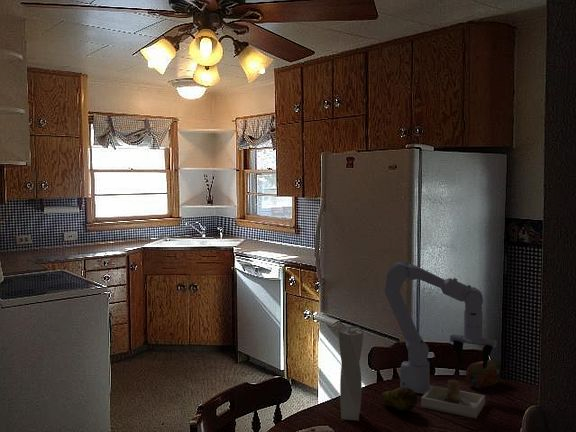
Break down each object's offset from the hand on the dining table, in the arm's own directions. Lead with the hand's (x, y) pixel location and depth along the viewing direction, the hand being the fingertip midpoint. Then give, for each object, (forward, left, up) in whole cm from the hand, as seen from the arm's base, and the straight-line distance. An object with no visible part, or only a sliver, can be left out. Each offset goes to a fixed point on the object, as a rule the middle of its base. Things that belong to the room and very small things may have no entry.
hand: (472, 365), depth 177 cm
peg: (-3, -12, -9) cm, 16 cm away
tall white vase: (-27, -37, -10) cm, 47 cm away
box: (-3, -13, -10) cm, 16 cm away
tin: (+1, +12, -10) cm, 16 cm away
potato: (-16, -25, -10) cm, 31 cm away
